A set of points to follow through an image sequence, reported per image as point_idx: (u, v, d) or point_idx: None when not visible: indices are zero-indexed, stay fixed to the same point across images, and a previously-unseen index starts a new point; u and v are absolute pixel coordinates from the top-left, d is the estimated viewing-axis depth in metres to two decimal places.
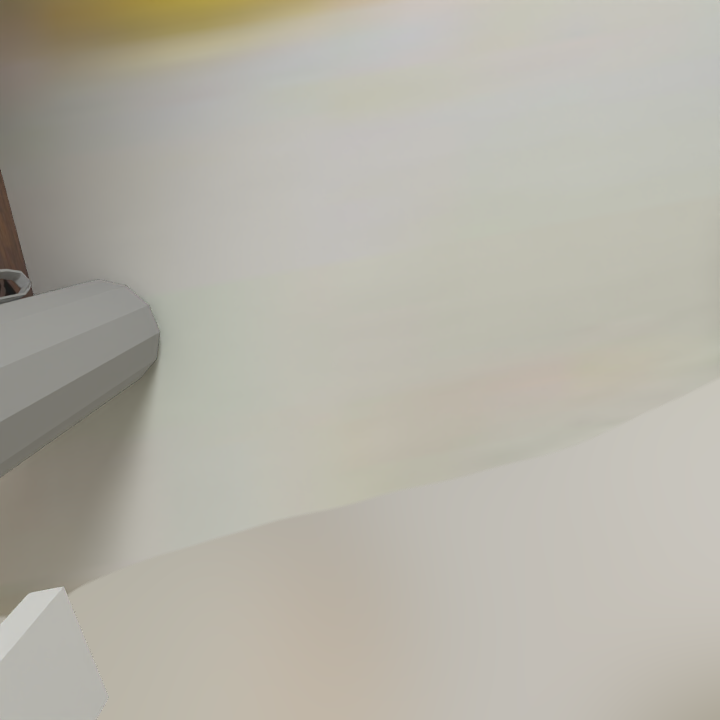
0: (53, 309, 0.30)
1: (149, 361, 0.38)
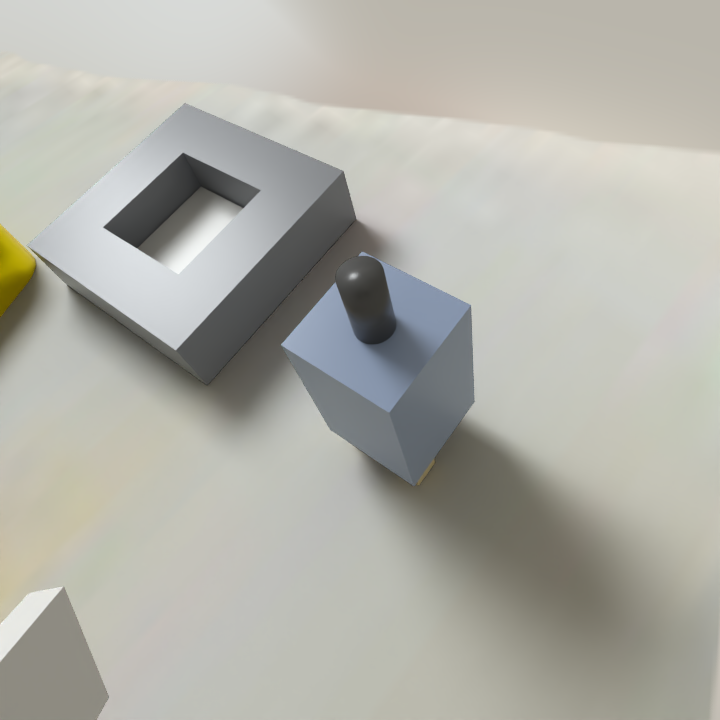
0: None
1: None
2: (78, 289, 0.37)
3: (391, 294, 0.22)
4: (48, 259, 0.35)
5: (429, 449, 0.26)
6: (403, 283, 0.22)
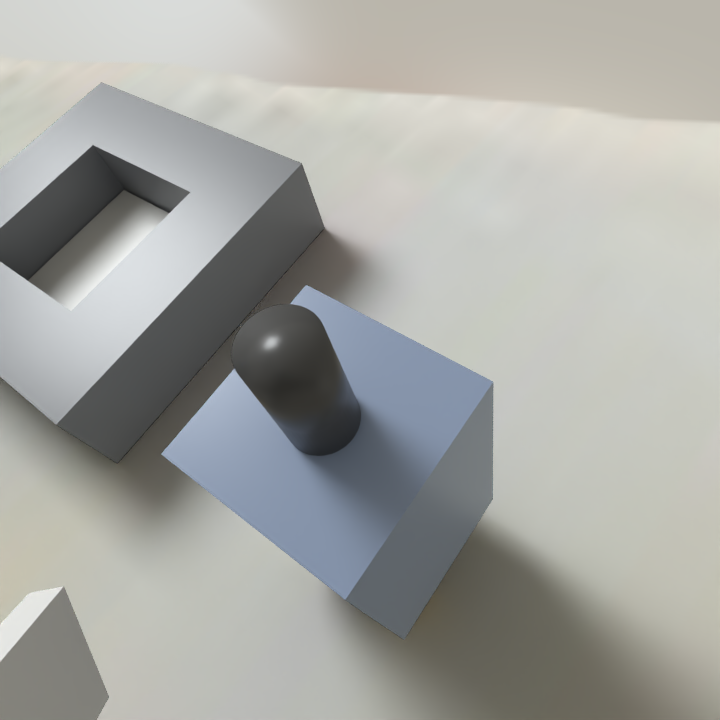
0: None
1: None
2: None
3: (353, 361, 0.13)
4: None
5: (426, 589, 0.17)
6: (373, 341, 0.13)
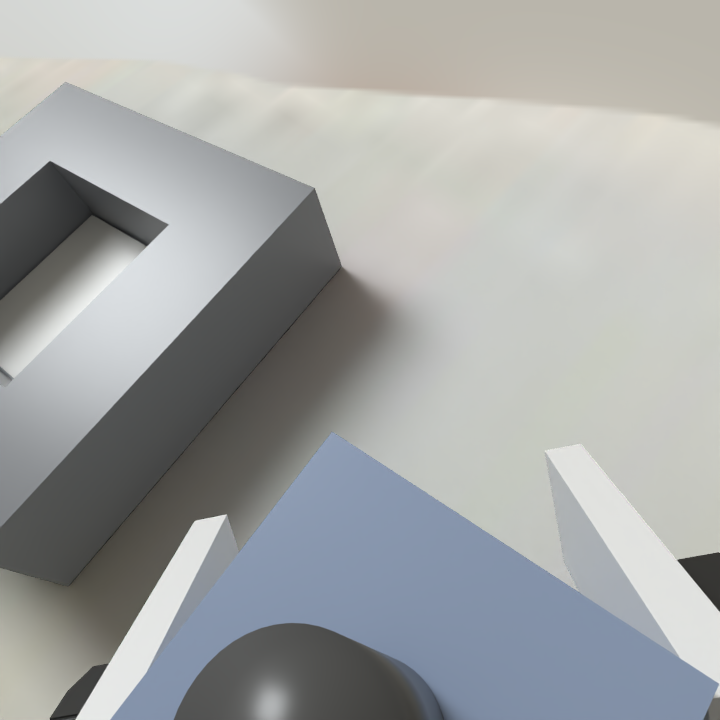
0: None
1: None
2: None
3: (424, 604, 0.07)
4: None
5: None
6: (461, 563, 0.07)
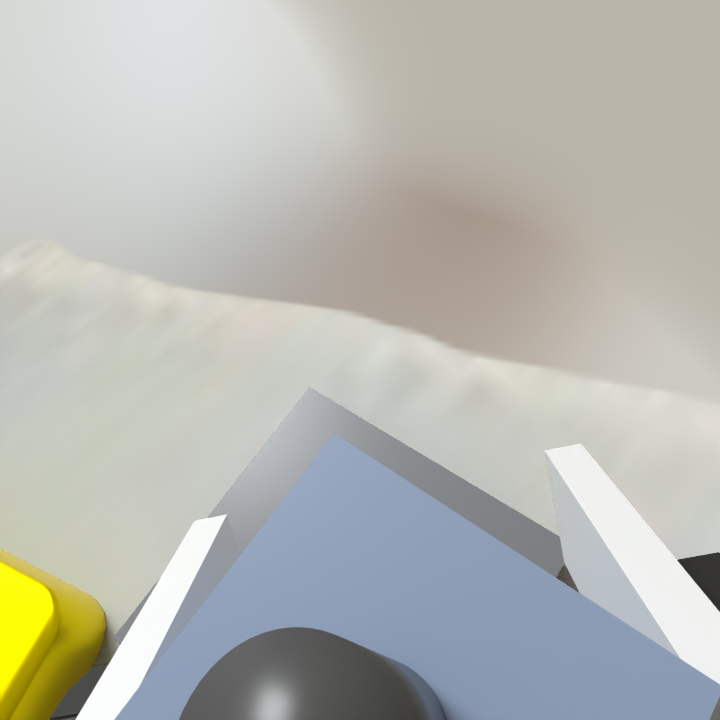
0: None
1: None
2: None
3: (427, 606, 0.07)
4: None
5: None
6: (464, 564, 0.07)
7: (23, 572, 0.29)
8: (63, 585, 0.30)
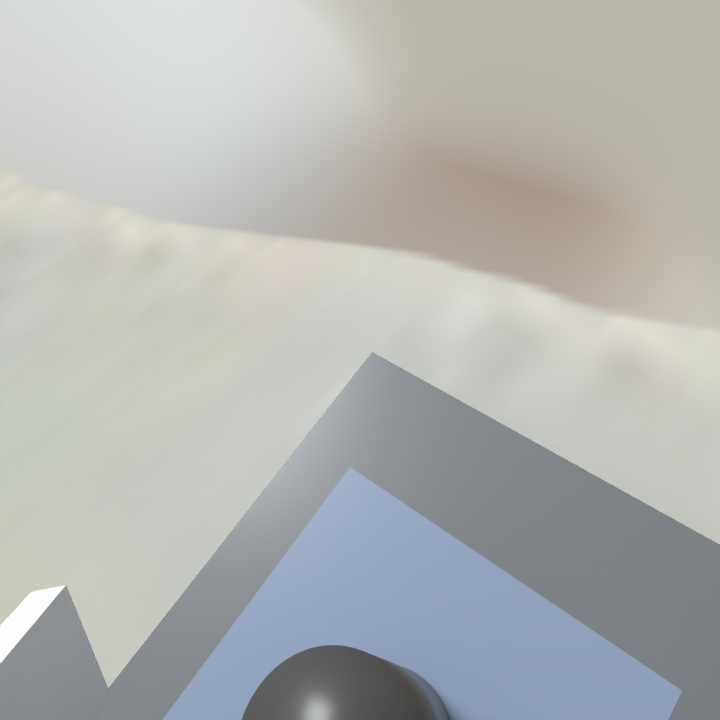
0: None
1: None
2: None
3: (432, 621, 0.08)
4: None
5: None
6: (463, 585, 0.08)
7: None
8: None
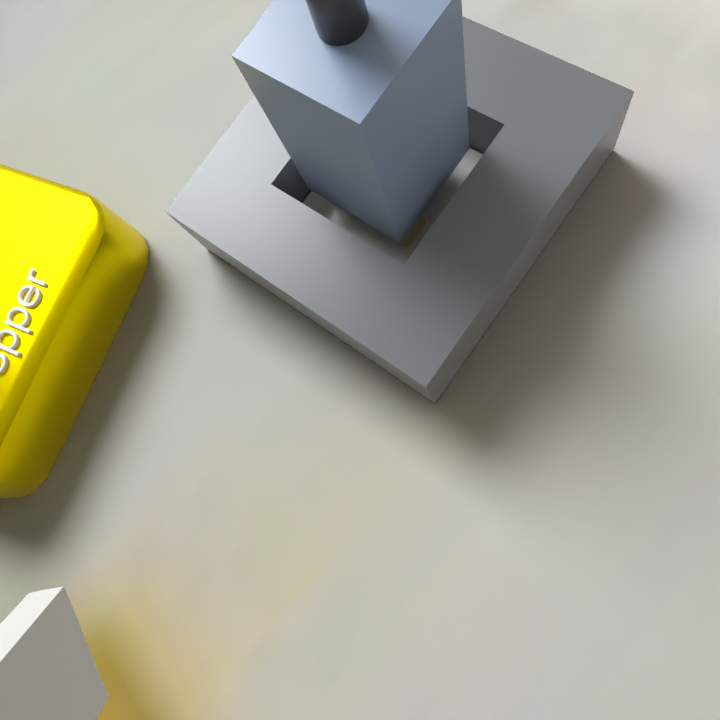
0: None
1: None
2: (235, 265, 0.28)
3: None
4: (202, 234, 0.26)
5: (416, 198, 0.23)
6: None
7: (60, 184, 0.28)
8: None
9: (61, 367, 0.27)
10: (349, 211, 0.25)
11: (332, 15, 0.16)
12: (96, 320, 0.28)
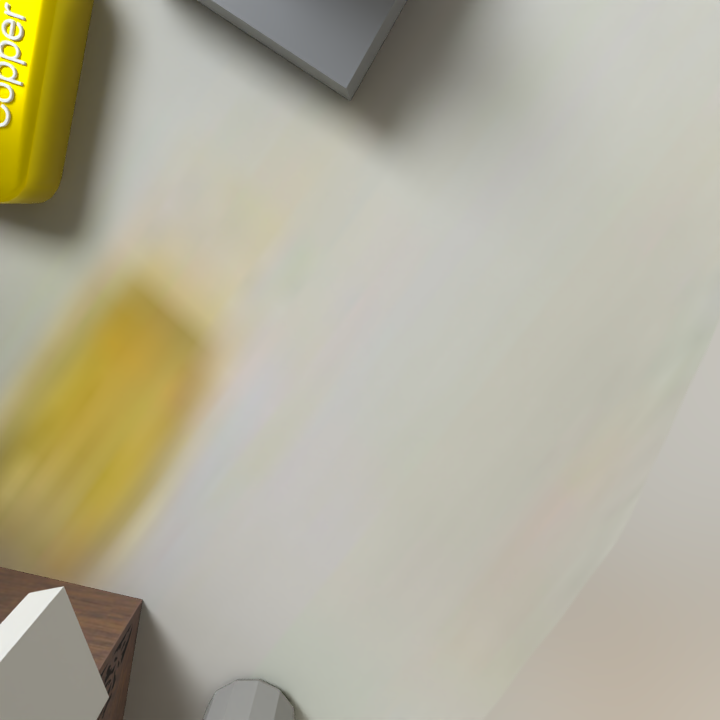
0: None
1: (289, 719, 0.45)
2: None
3: None
4: None
5: None
6: None
7: None
8: None
9: (53, 92, 0.34)
10: None
11: None
12: (69, 49, 0.34)
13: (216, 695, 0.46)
